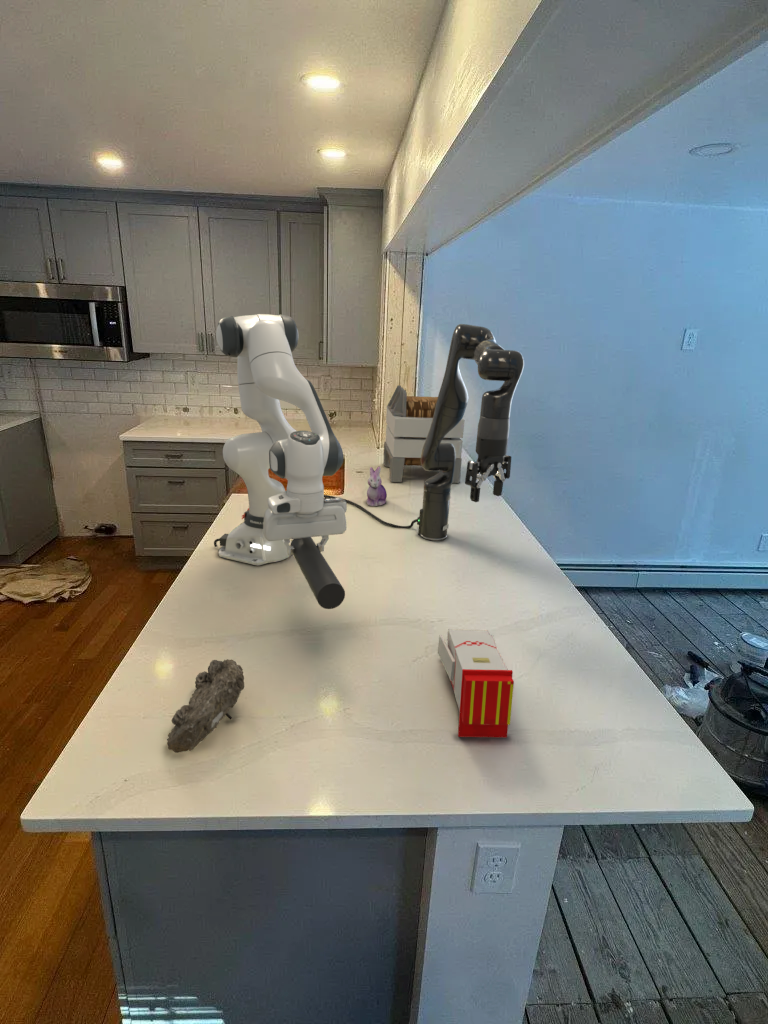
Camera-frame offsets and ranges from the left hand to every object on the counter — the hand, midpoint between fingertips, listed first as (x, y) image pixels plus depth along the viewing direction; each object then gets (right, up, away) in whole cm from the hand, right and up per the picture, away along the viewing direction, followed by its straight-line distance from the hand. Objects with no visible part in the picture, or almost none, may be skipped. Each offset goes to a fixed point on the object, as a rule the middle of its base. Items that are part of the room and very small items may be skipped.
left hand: (305, 552), depth 141 cm
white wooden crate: (+37, +29, +134) cm, 142 cm away
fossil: (-13, -29, -33) cm, 46 cm away
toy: (+37, -28, -22) cm, 51 cm away
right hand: (+45, +14, +2) cm, 47 cm away
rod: (+3, -6, -8) cm, 10 cm away
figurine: (+16, +14, +89) cm, 92 cm away
